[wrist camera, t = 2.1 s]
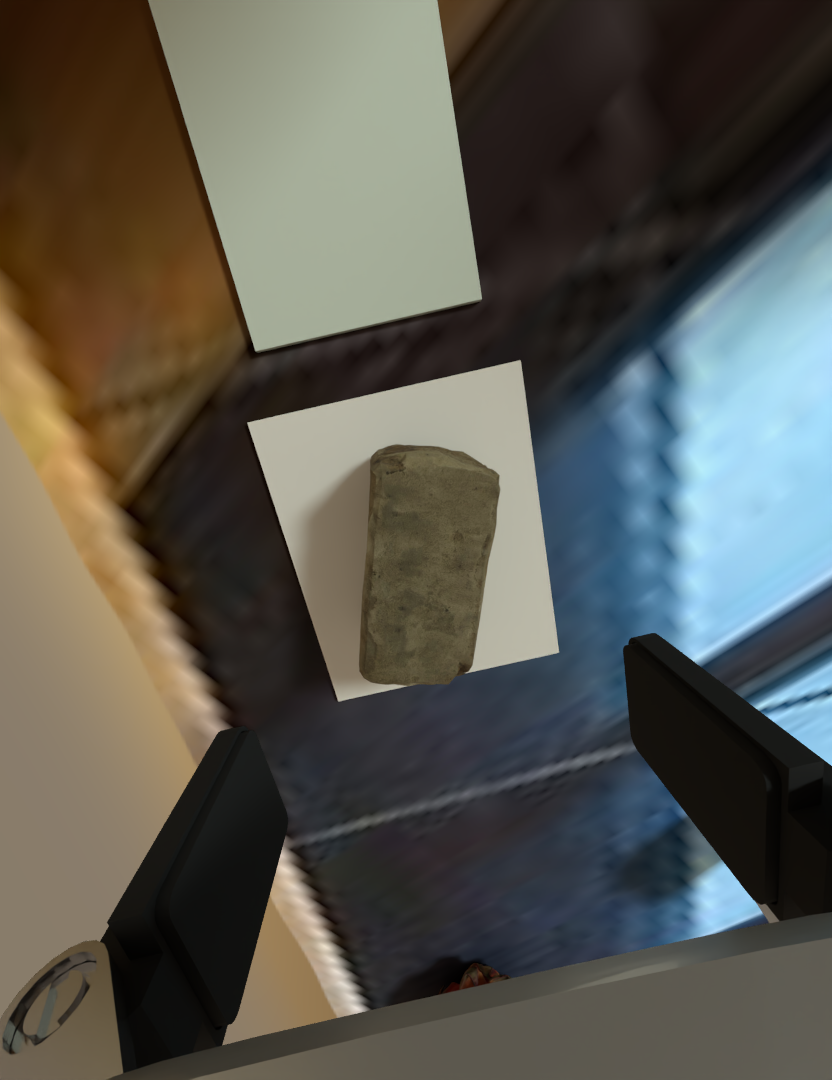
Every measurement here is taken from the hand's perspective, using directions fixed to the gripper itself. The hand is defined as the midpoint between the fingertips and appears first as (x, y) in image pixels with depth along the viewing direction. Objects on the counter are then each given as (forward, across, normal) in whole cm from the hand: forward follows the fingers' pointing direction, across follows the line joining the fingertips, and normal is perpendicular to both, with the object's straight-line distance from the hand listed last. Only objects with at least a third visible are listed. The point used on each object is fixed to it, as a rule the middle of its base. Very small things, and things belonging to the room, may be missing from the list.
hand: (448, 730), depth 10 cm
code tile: (+13, 0, -1) cm, 13 cm away
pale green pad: (+13, 0, -19) cm, 23 cm away
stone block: (+13, 0, -1) cm, 13 cm away
